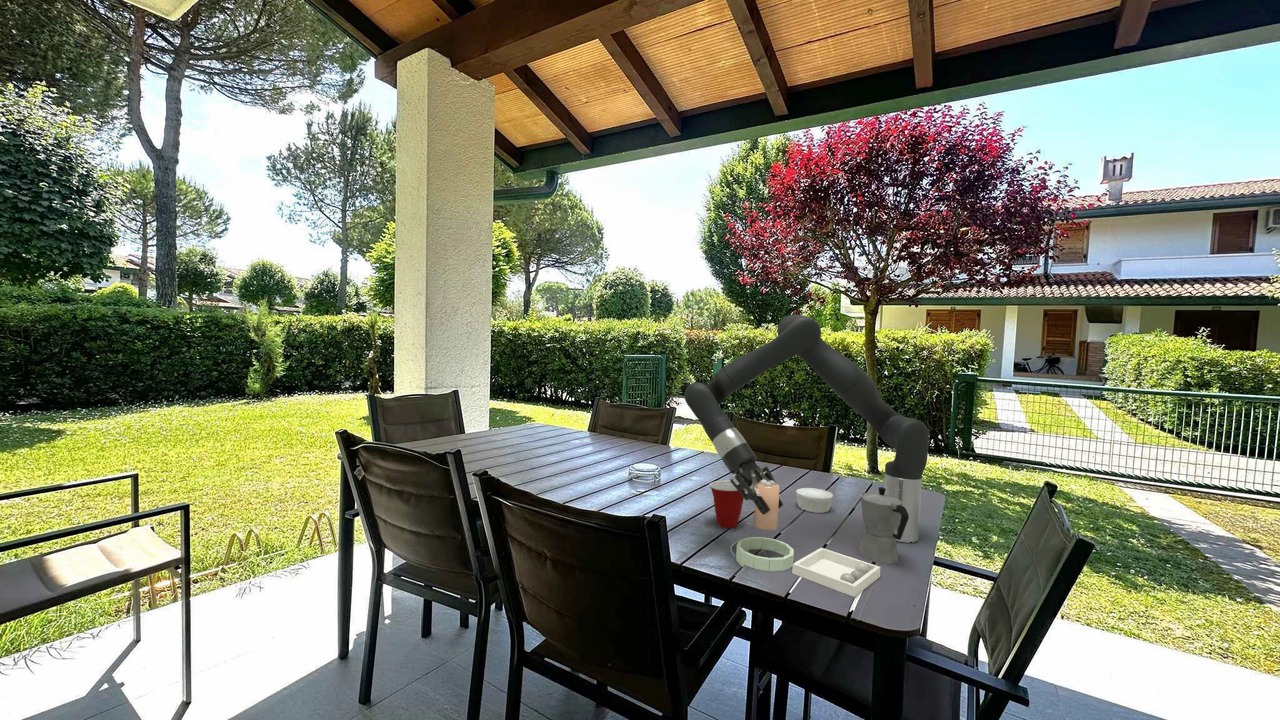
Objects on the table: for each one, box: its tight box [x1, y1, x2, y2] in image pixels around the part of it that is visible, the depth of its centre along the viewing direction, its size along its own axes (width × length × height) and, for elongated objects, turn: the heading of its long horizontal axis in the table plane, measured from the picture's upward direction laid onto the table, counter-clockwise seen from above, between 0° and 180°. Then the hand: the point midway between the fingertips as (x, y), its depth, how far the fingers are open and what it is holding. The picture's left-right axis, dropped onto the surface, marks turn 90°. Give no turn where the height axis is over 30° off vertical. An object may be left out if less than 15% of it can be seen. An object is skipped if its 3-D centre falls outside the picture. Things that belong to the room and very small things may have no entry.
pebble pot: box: [753, 480, 781, 531], centre depth 124 cm, size 5×5×11 cm
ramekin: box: [795, 487, 834, 514], centre depth 166 cm, size 11×11×5 cm
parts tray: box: [791, 547, 881, 598], centre depth 117 cm, size 14×14×4 cm
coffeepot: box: [857, 486, 909, 565], centre depth 127 cm, size 15×9×18 cm, turn 14°
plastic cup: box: [709, 480, 746, 529], centre depth 148 cm, size 11×11×12 cm
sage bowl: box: [735, 536, 795, 572], centre depth 124 cm, size 13×13×4 cm
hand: (773, 509), depth 123 cm, fingers closed on pebble pot, 5 cm apart
